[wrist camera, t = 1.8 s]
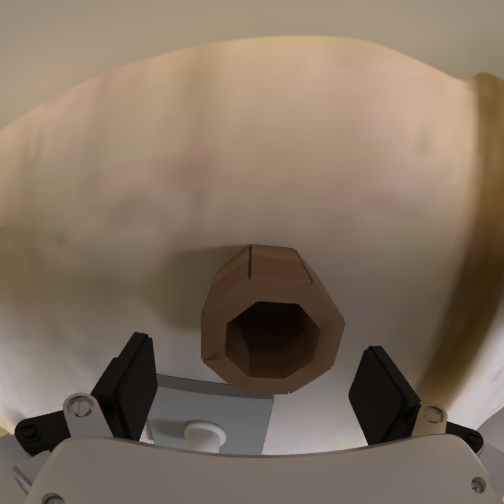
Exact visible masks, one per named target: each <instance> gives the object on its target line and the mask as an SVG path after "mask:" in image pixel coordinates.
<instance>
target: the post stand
mask: <svg viewBox="0 0 504 504" xmlns="http://www.w3.org/2000/svg"><path fill="white" fill-rule="evenodd" d="M156 375H157V382H158V388H157V392H156V395H155V398H154V400H153V403H152V406H151V409H150V411H149V414H148V417H147V418H148V422H149V426H150V430H151V433H152V437H153V441H154V444H155V445H160V446H166V447H172V448H179V449H186V450H193V451H202V452H211V453H223V454H240V455H261V454H262V450H263V445H264V441H265V437H266V433H267V428H268V424H269V419H270V415H271V410H272V406H273V401H274V396H273V394H267V393H250V392H240V389H239V390H235V389H234V388H233V387H232V386H231V385H229V384H220V383H211V382H203V381H195V380H188V379H182V378H176V377H170V376H164V375H159V374H156Z"/></svg>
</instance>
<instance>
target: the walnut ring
mask: <svg viewBox="0 0 504 504" xmlns="http://www.w3.org/2000/svg"><path fill="white" fill-rule="evenodd" d="M257 301H265V302H279V303H293V304H298V310H297V311H296V312H294V313H293V314H292V315H290V316H289V317H287V318H286V319H285V320H283V321H282V322H280V323H279V324H278V325H263V324H250V323H249V322H248V321H247V320H246V319H245V318H244V317H243V316H242V315H241V314H240V313H242V312H243V311H245V310H246V309H247V308H249V307H250V306H251V305H253V304H254V303H255V302H257ZM344 321H345V320H344V319H343V317H342V315H341V314H340V312H339V311H338V309H337V307H336V306H335V304H334V302H333V301H332V299H331V298H330V296H329V294H328V293H327V291H326V290H325V288H324V286H323V285H322V283H321V282H320V280H319V279H318V277H317V276H316V275H315V274H314V272H313V271H312V270H311V268H310V267H309V266H308V265H307V263H306V262H305V261H304V260H303V258H302V257H301V256H300V255H299V253H298V252H297V251H296V250H294V249H293V248H286V247H275V246H264V245H253V244H252V248H251V247H250V246H248V247H246V248H245V249H244V250H243V251H241V252H240V253H239V254H238V255H237V256H235V257H234V258H233V259H232V260H230V261H229V262H228V263H227V264H226V265H224V266H223V267H222V268H221V269H219V270H218V272H217V274H216V277H215V279H214V282H213V285H212V287H211V290H210V293H209V295H208V298H207V301H206V303H205V306H204V309H203V311H202V317H201V359H203V362H204V363H205V364H206V365H207V366H208V367H209V368H211V369H212V370H213V371H214V372H215V373H216V374H218V375H219V376H220V377H221V378H222V379H223V380H225V381H226V382H227V383H228V384H229V385H231V386H232V387H233V388H234V389H235V390H239V389H240V392H250V393H267V394H288V391H289V392H290V393H292V392H294V391H296V390H297V389H299V388H301V387H303V386H304V385H306V384H307V383H309V382H311V381H312V380H314V379H316V378H317V377H319V376H320V375H322V374H323V373H325V372H326V371H328V370H330V369H331V367H330V366H333V364H334V361H335V358H336V354H337V351H338V348H339V344H340V341H341V337H342V333H343V330H344V326H345V323H344Z"/></svg>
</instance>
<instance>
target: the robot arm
mask: <svg viewBox="0 0 504 504" xmlns="http://www.w3.org/2000/svg"><path fill="white" fill-rule="evenodd" d="M157 388H158V382H157V375H156V367H155V359H154V350H153V341H152V338H149V336H148V334H144V333H138V332H135V333H134V334H133V335H132V337H131V338H130V340H129V341H128V343H127V344H126V346H125V347H124V349H123V350H122V352H121V354H120V355H119V357H118V358H116V357H115V358H113V359H112V361H111V362H110V364H109V365H108V367H107V368H106V370H105V371H104V373H103V375H102V376H101V378H100V379H99V381H98V382H97V384H96V386H95V387H94V389H93V390H92V392H91V394H90V395H89V394H86V393H76V394H73V395H71V396H69V397H68V398H67V399H66V400H65V401H64V404H63V410H61V411H57V412H54V413H50V414H46V415H41V416H37V417H33V418H28V419H25V420H22V421H21V422H19V423H18V424H17V426H16V428H15V434H13V435H10V434H9V433H8V434H6V435H4V436H2V437H0V504H504V503H503V500H502V497H503V495H504V453H503V452H501V451H500V450H498V449H496V448H495V447H493V446H491V445H490V444H488V443H486V444H485V445H484V443H483V438H482V436H481V435H480V433H478V432H477V431H475V430H473V429H470V428H466V427H463V426H460V425H457V424H454V423H451V422H448V421H447V413H446V411H445V410H444V409H443V408H442V407H440V406H439V405H436V404H432V403H428V404H424V405H423V406H421V405H420V404H419V403H420V401H421V400H420V399H419V397H418V396H417V394H416V393H415V392H414V390H413V389H412V387H411V386H410V385H409V383H408V382H407V380H406V379H405V378H404V376H403V375H402V373H401V372H400V371H399V369H398V368H397V366H396V365H395V364H394V362H393V361H392V360H391V358H390V357H389V356H388V354H387V353H386V351H385V350H384V349H383V347H382V346H369V347H368V348H367V349H366V350H365V351H364V353H363V356H362V358H361V361H360V364H359V367H358V370H357V372H356V375H355V378H354V380H353V383H352V386H351V388H350V391H349V400H350V403H351V405H352V407H353V410H354V412H355V414H356V417H357V419H358V421H359V424H360V426H361V429H362V431H363V433H364V436H365V438H366V441H367V443H368V445H369V446H364V447H358V448H352V449H345V450H338V451H329V452H320V453H308V454H291V455H240V454H223V453H211V452H202V451H193V450H186V449H179V448H172V447H166V446H160V445H155V444H149V443H145V442H139V440H140V437H141V434H142V431H143V428H144V425H145V423H146V420H147V417H148V414H149V411H150V409H151V406H152V403H153V400H154V398H155V395H156V392H157Z"/></svg>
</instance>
